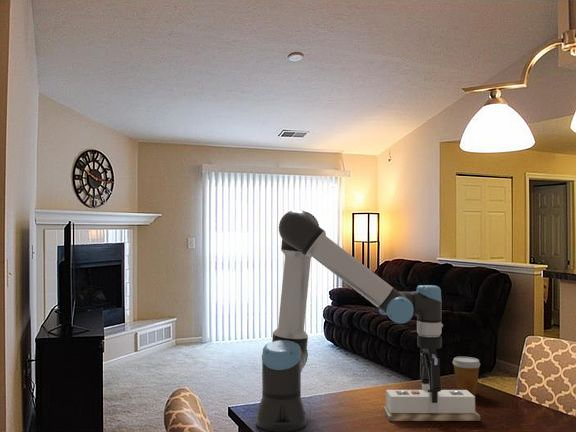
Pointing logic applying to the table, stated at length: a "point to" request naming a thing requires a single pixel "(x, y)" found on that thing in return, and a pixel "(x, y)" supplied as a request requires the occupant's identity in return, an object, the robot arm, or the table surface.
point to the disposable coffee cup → (466, 373)
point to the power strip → (420, 401)
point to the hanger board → (431, 416)
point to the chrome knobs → (454, 393)
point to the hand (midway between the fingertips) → (430, 408)
